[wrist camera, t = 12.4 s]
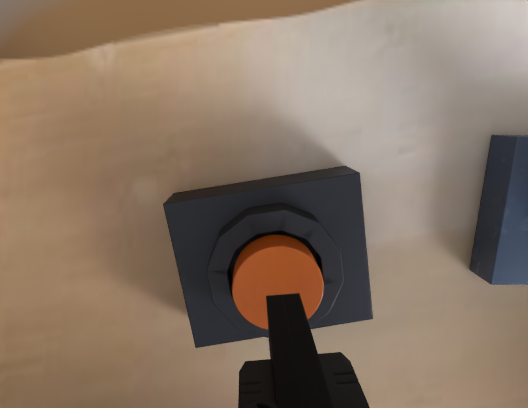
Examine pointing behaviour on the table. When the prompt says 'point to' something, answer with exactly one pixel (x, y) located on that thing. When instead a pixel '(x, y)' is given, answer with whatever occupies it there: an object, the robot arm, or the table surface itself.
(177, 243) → the black button base
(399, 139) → the table surface
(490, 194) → the dial panel
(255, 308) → the button
